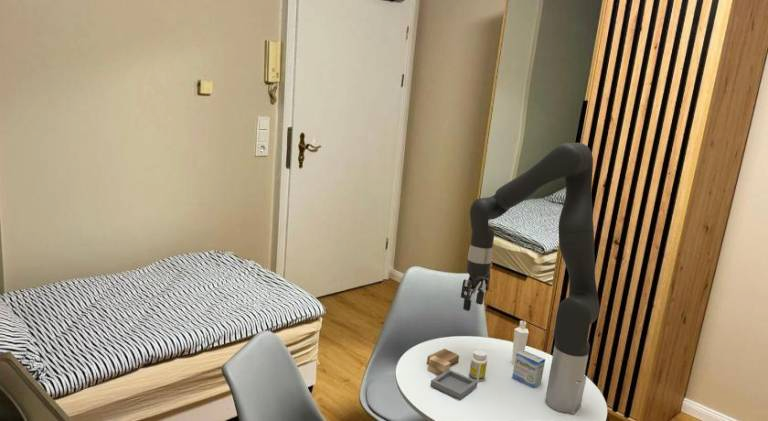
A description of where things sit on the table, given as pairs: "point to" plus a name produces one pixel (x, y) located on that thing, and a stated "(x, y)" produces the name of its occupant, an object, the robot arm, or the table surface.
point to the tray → (454, 384)
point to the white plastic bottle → (519, 339)
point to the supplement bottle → (478, 365)
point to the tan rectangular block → (438, 365)
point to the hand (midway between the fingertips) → (473, 306)
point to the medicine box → (528, 368)
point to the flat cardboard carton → (446, 356)
